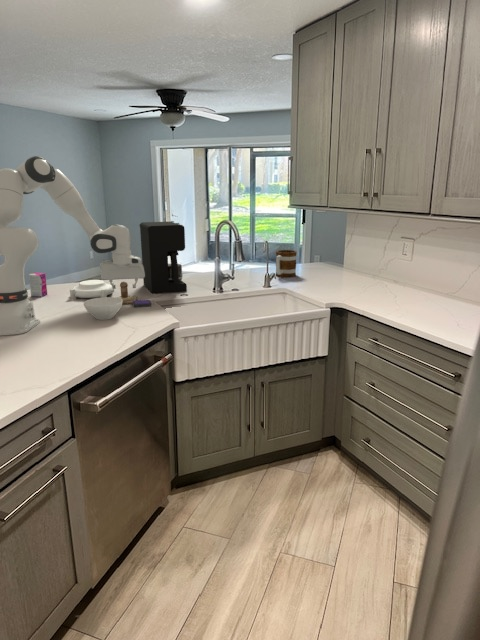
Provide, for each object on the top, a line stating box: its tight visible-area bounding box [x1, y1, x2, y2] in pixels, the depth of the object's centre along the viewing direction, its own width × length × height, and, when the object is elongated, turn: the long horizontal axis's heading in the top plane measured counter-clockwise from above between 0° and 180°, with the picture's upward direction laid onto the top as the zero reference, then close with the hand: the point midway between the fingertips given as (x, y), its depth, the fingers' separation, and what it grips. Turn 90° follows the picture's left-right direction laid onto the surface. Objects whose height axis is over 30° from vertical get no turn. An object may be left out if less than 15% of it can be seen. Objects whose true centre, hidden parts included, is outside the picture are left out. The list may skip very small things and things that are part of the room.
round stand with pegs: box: [69, 279, 115, 300], centre depth 234 cm, size 24×24×7 cm
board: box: [116, 296, 139, 306], centre depth 222 cm, size 12×12×1 cm
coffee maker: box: [138, 220, 188, 295], centre depth 243 cm, size 28×20×35 cm
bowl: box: [83, 296, 123, 321], centre depth 195 cm, size 16×16×7 cm
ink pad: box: [132, 299, 152, 308], centre depth 216 cm, size 8×8×2 cm
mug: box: [275, 249, 298, 279], centre depth 279 cm, size 20×14×15 cm
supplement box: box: [28, 272, 48, 298], centre depth 232 cm, size 6×6×12 cm
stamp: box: [118, 281, 131, 301], centre depth 220 cm, size 5×5×9 cm
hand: (124, 288), depth 219 cm, fingers open, 8 cm apart
